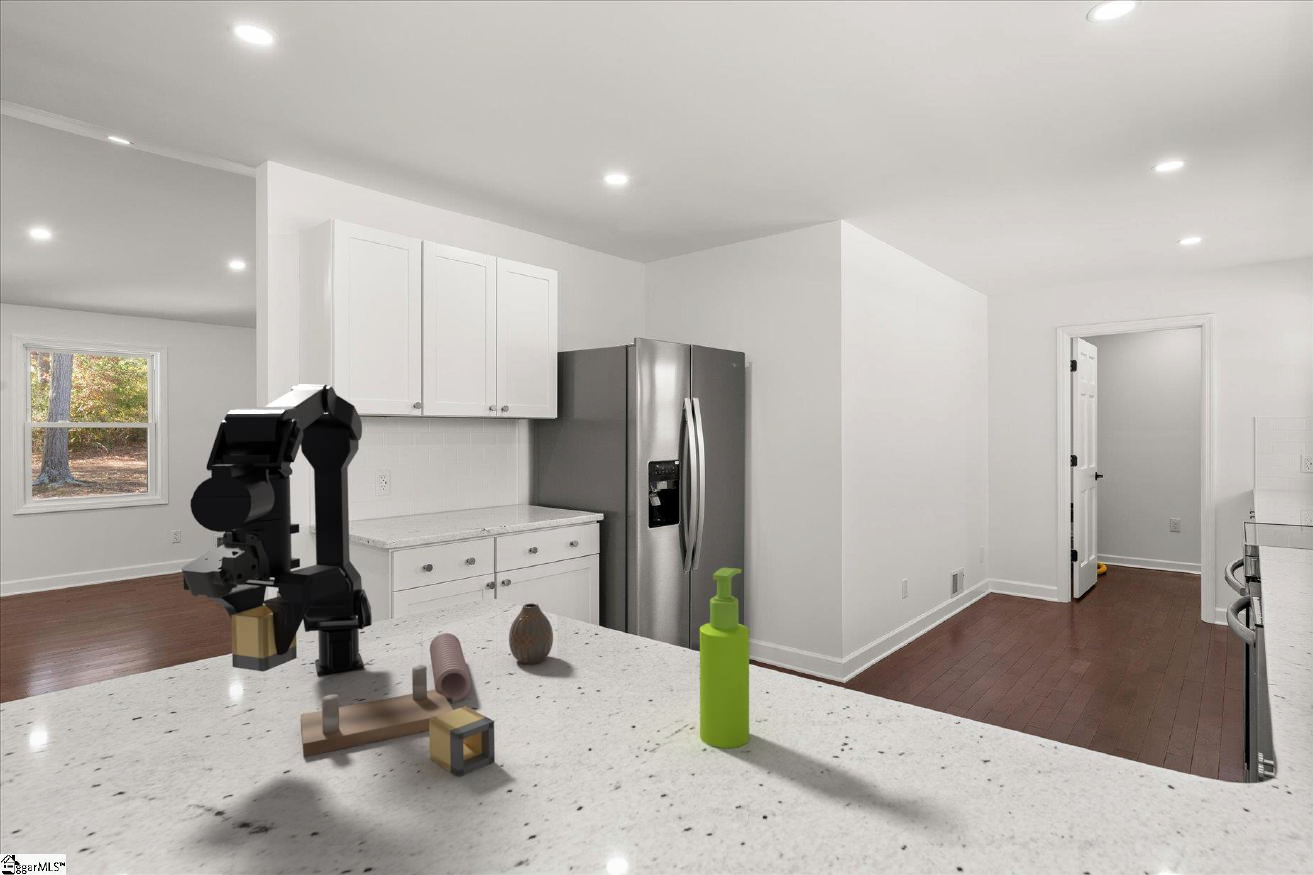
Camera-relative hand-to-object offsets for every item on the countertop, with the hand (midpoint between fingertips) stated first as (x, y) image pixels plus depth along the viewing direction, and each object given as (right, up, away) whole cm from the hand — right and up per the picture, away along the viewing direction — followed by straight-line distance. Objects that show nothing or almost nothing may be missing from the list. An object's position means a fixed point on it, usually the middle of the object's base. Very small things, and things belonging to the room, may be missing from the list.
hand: (265, 651), depth 81 cm
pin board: (+10, -11, +6) cm, 17 cm away
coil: (+15, -11, +22) cm, 29 cm away
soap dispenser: (+54, -11, +3) cm, 55 cm away
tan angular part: (+26, -9, -5) cm, 28 cm away
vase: (+25, -11, +30) cm, 41 cm away
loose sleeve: (0, -1, 0) cm, 1 cm away
